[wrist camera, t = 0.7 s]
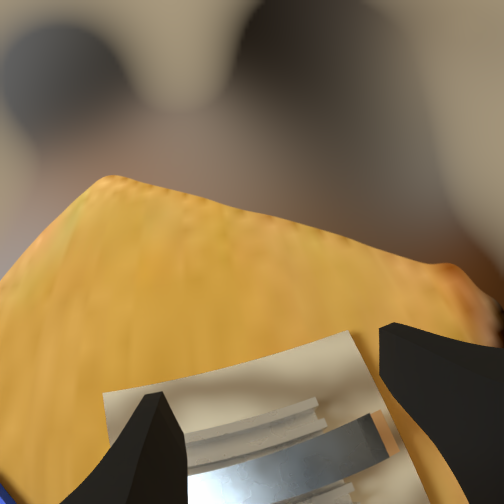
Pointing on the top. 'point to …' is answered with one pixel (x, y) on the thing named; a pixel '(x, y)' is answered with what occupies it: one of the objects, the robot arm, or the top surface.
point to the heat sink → (264, 446)
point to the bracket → (5, 496)
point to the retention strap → (293, 468)
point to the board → (285, 394)
